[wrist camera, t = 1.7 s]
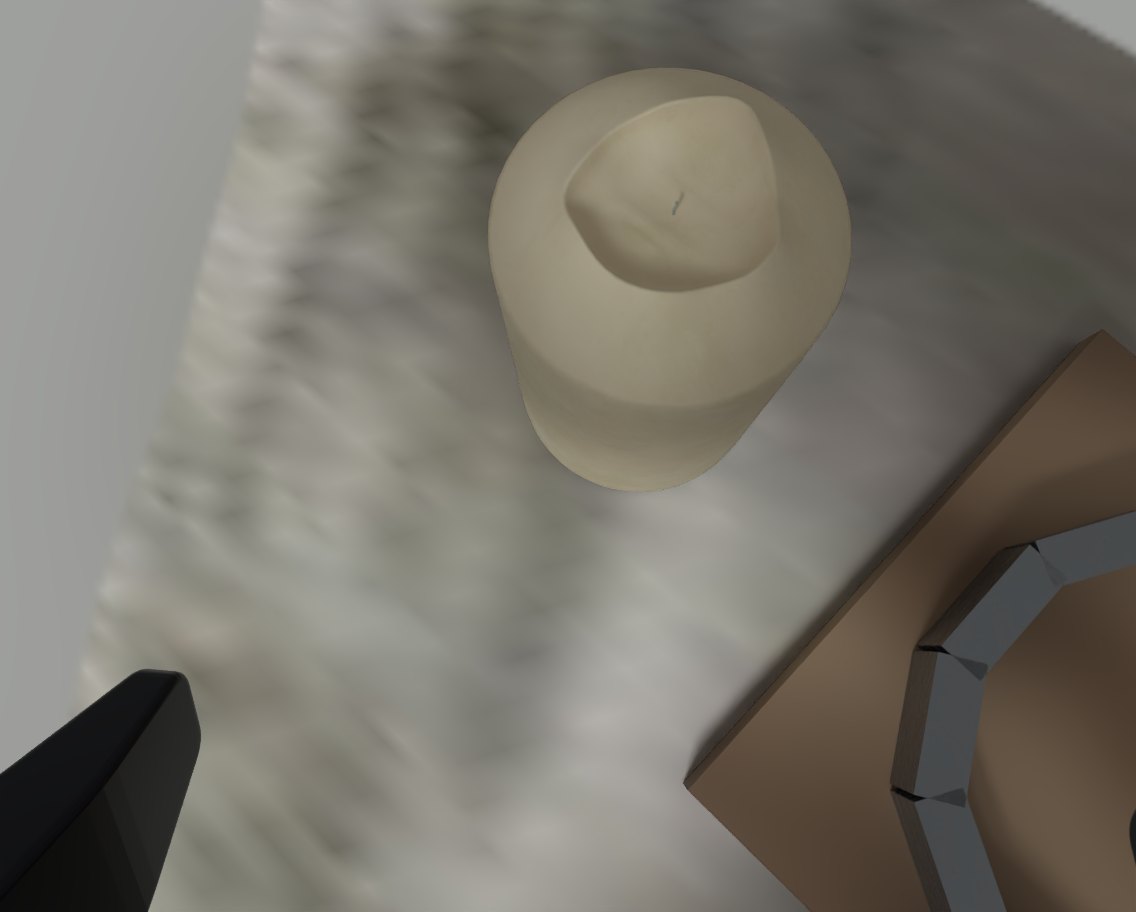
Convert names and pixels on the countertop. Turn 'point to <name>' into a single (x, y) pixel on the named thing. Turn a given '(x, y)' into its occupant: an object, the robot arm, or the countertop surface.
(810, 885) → the dock
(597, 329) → the candle
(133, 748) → the robot arm
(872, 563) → the countertop surface
